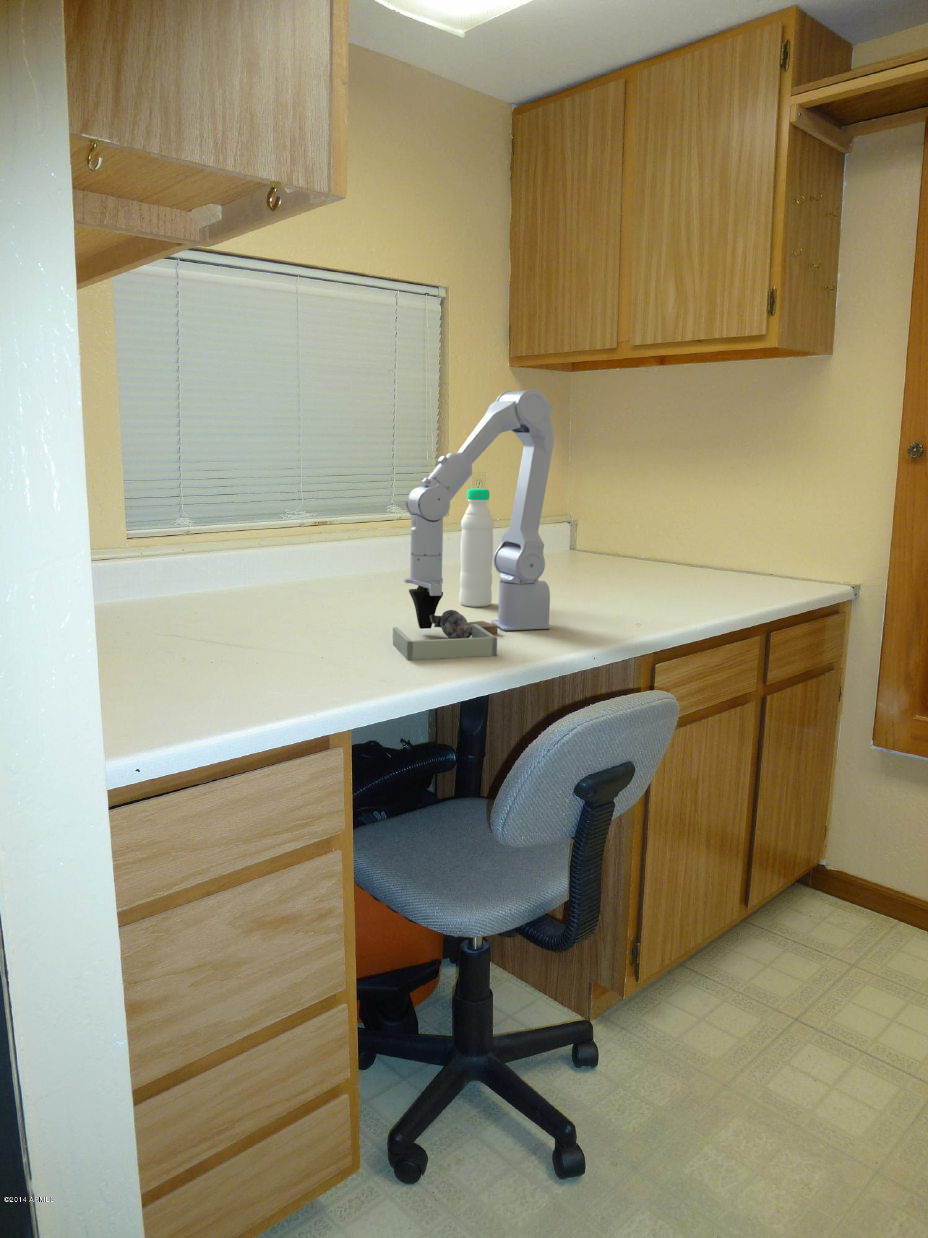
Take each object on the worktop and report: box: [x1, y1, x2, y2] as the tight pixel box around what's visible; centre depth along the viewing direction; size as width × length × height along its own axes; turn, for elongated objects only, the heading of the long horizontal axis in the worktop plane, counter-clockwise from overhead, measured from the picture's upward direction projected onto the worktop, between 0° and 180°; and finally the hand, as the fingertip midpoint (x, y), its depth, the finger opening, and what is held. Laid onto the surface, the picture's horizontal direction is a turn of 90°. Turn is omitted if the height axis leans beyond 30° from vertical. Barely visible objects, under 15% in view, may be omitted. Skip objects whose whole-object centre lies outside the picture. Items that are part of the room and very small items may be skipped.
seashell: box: [429, 609, 473, 639], centre depth 154 cm, size 5×5×10 cm
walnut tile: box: [467, 620, 499, 637], centre depth 161 cm, size 5×5×2 cm
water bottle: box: [458, 487, 495, 608], centre depth 186 cm, size 7×7×25 cm
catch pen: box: [392, 624, 498, 661], centre depth 147 cm, size 15×11×3 cm
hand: (425, 628), depth 158 cm, fingers closed
